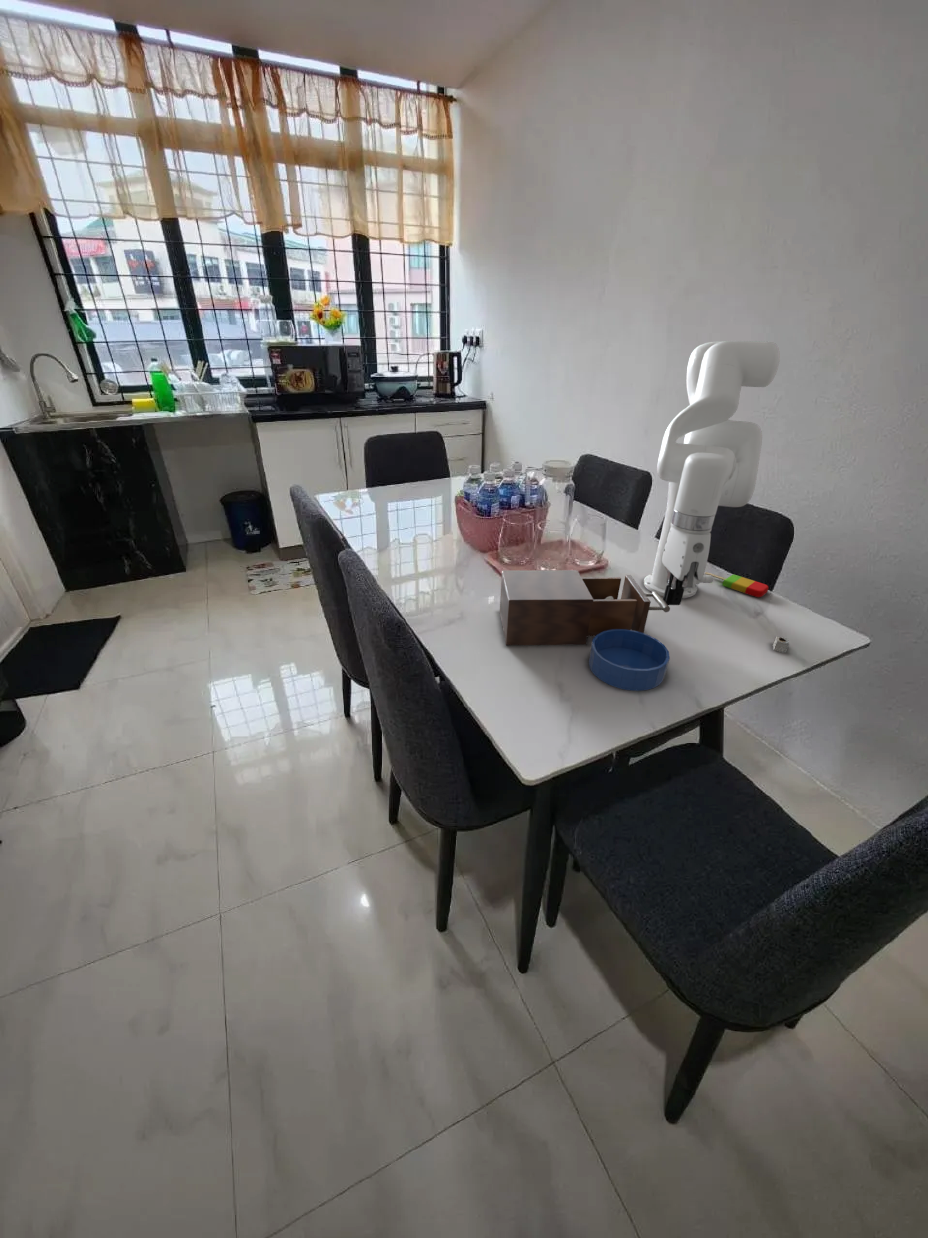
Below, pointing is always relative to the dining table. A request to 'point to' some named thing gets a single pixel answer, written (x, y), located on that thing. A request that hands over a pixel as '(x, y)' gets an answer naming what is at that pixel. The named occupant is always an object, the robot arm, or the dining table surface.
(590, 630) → the drawer
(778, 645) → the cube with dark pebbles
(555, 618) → the cabinet
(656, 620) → the dining table surface
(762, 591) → the popsicle
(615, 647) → the bowl
